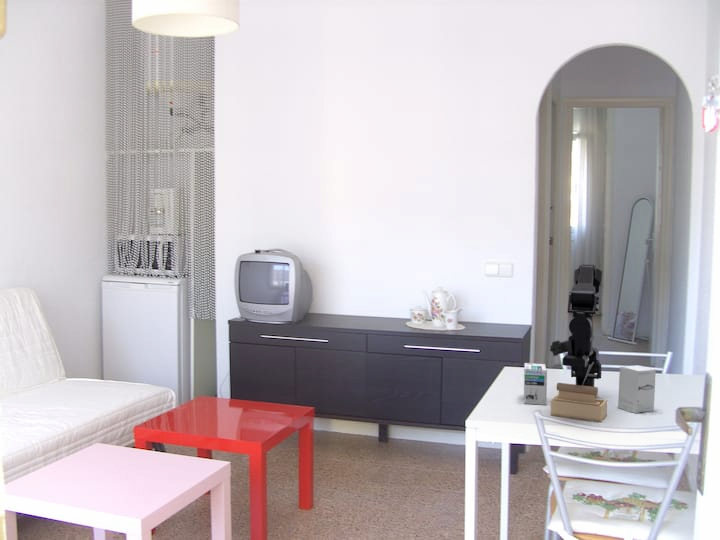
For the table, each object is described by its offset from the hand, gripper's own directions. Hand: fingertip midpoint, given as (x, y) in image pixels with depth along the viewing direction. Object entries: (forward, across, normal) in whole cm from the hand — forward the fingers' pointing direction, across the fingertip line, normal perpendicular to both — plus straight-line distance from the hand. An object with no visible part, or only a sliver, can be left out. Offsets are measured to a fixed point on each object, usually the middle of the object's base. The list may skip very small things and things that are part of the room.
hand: (580, 386), depth 218 cm
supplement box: (+9, -16, +13) cm, 22 cm away
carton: (+8, +1, 0) cm, 8 cm away
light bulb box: (+9, -11, -16) cm, 21 cm away
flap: (+4, +4, 0) cm, 5 cm away
